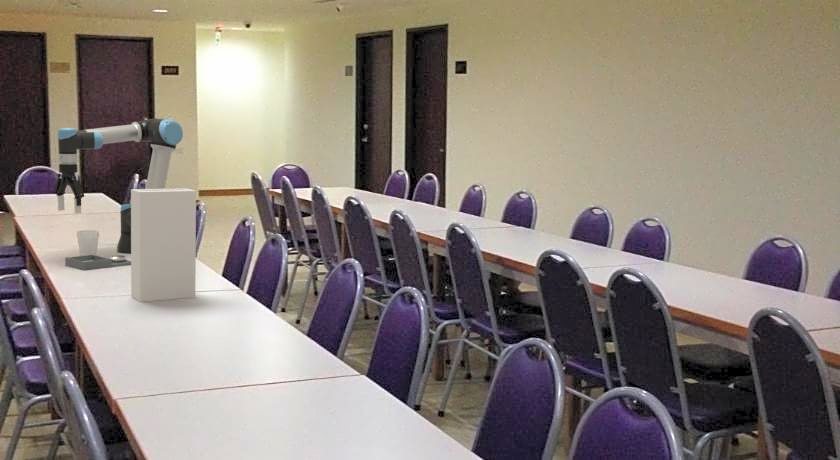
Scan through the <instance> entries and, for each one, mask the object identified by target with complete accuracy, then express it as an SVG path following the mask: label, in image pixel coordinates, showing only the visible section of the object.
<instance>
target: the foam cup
mask: <svg viewBox="0 0 840 460" xmlns="http://www.w3.org/2000/svg"><path fill="white" fill-rule="evenodd" d="M76 237H77V244H78V249H79V256H86V255H96V256H97V252H98V243H99V238H100V231H99V230H97V229H96V230H95V229H82V230H77V231H76Z"/></svg>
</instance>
